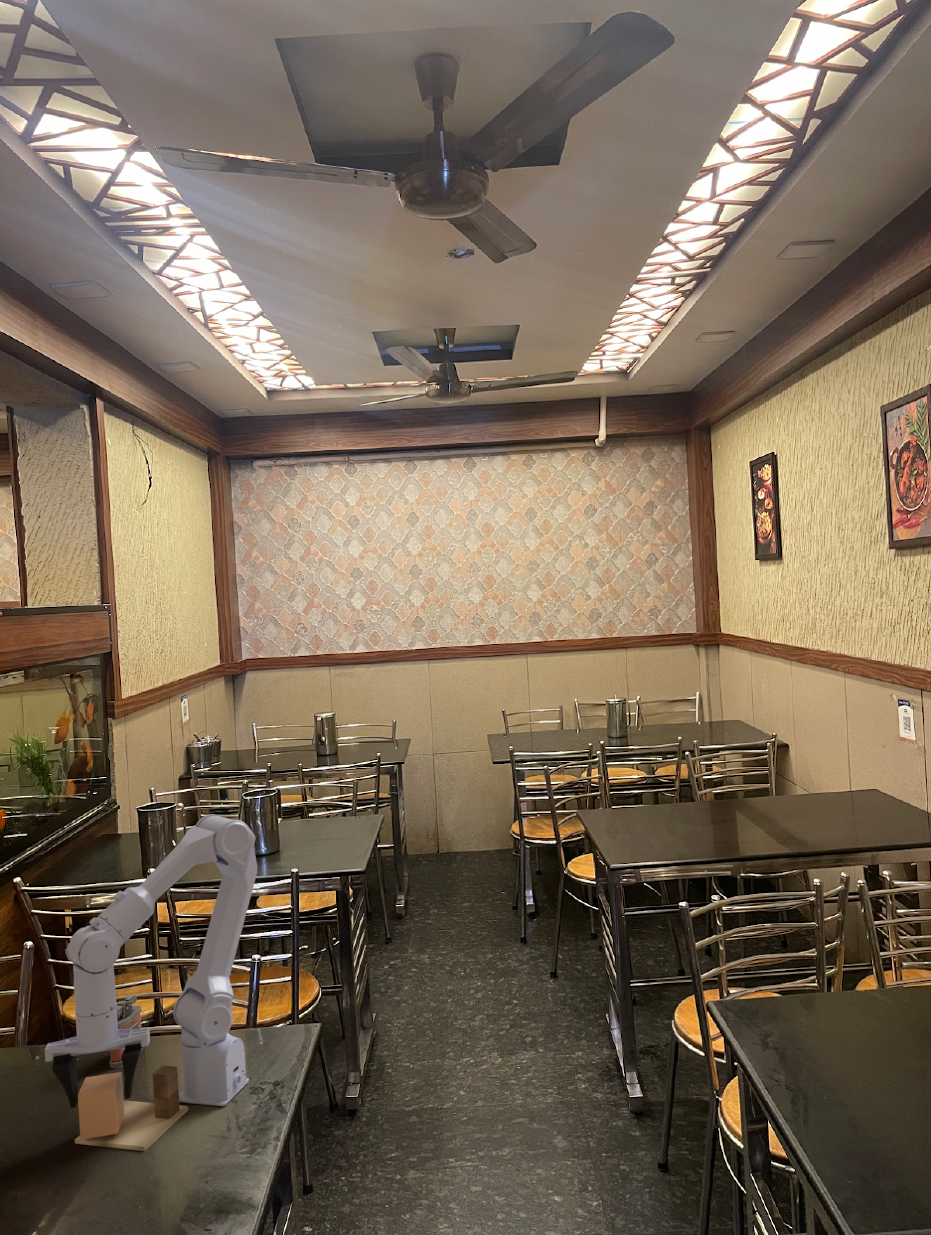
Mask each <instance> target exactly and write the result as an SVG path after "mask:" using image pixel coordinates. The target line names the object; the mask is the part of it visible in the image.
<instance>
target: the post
mask: <svg viewBox="0 0 931 1235" xmlns="http://www.w3.org/2000/svg"><path fill="white" fill-rule="evenodd" d="M152 1087H153V1089H152V1090H153V1091H152V1092H153V1103H154V1108H155V1118H163V1119H170V1118H172V1117H173V1116H174V1115H175V1114H176V1113H177V1112H178V1111H179V1110H180V1107H179V1105H180V1102H179V1092H180V1091H179V1075H178V1066H175V1065H173V1066H172V1065H161V1066H160V1067H158V1069H156V1070H155V1071H154V1072H153V1073H152Z"/></svg>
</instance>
